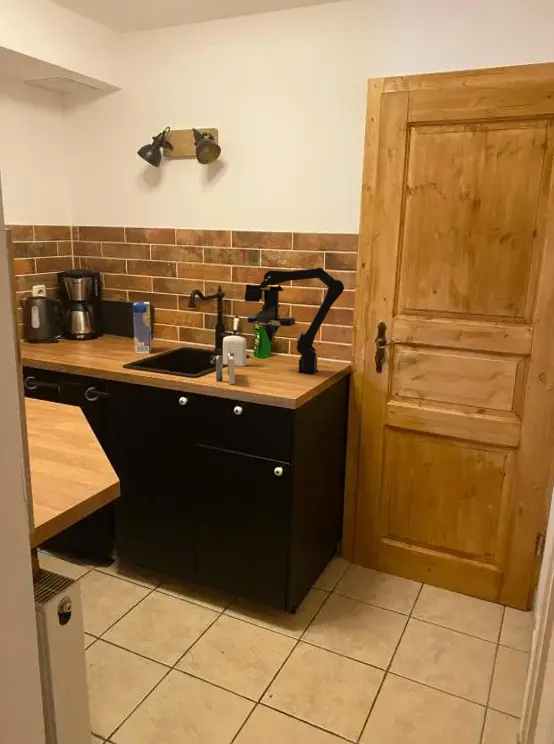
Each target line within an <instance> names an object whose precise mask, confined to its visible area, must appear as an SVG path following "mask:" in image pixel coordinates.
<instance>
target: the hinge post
mask: <svg viewBox="0 0 554 744" xmlns="http://www.w3.org/2000/svg"><path fill="white" fill-rule="evenodd" d="M229 356H233V358H234V353H228V365H227V376H229Z"/></svg>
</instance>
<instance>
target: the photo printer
mask: <svg viewBox="0 0 554 744" xmlns="http://www.w3.org/2000/svg"><path fill="white" fill-rule="evenodd" d="M228 353H234V359H235V366H237V367H238V366H239V367H246V366H247V339H246V338H245V337H243V336H238V335H228V336H227V335H226V336H225V337H223V339H222V357H223V365H227V366H228Z"/></svg>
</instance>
